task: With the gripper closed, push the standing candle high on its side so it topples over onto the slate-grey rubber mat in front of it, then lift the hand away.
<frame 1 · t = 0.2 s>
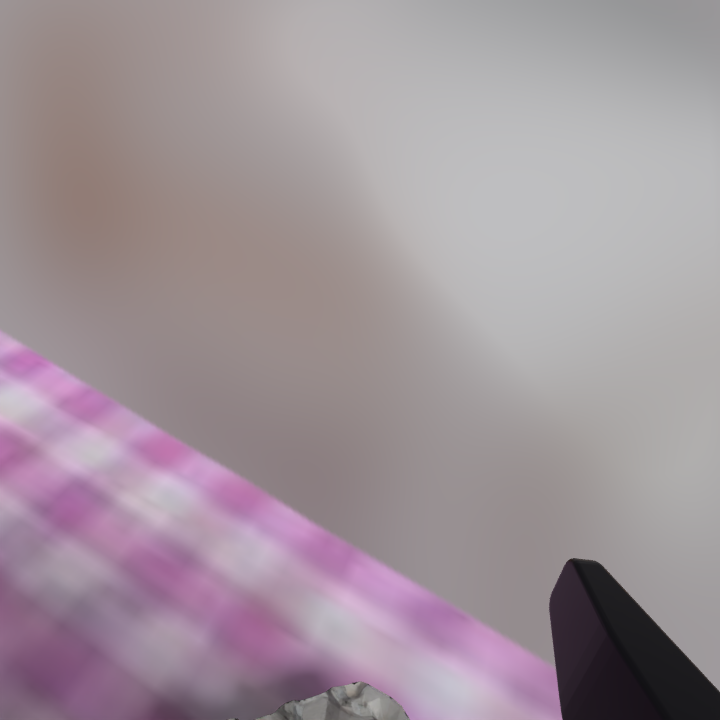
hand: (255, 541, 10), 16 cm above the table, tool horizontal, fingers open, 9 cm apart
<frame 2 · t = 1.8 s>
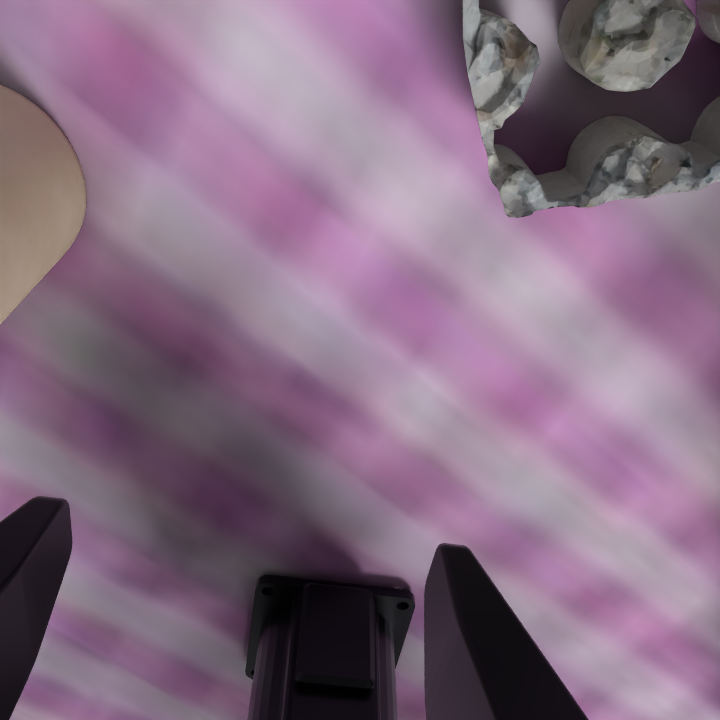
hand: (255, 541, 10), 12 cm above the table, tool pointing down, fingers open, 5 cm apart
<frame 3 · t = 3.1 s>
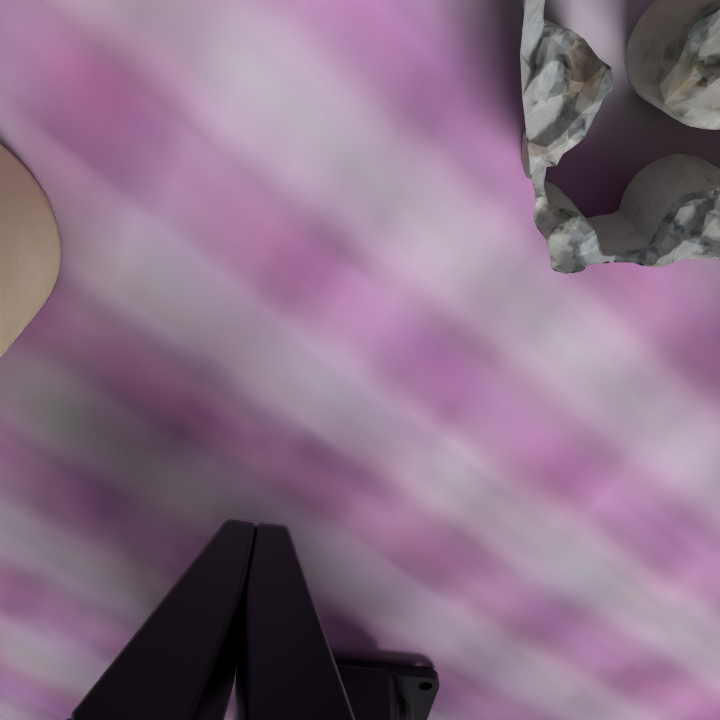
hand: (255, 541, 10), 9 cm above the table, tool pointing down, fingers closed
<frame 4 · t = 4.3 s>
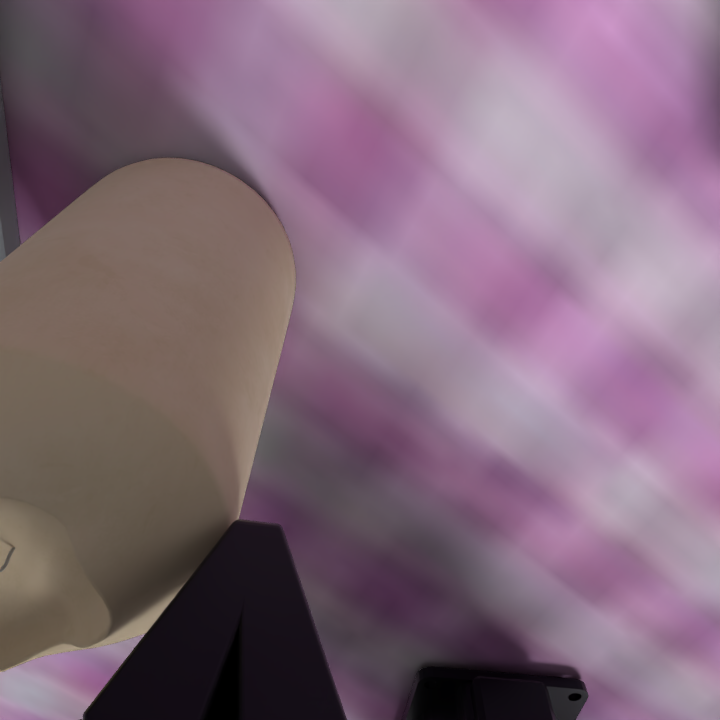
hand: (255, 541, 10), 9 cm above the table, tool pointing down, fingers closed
candle: (188, 263, 17), on the table, touching gripper
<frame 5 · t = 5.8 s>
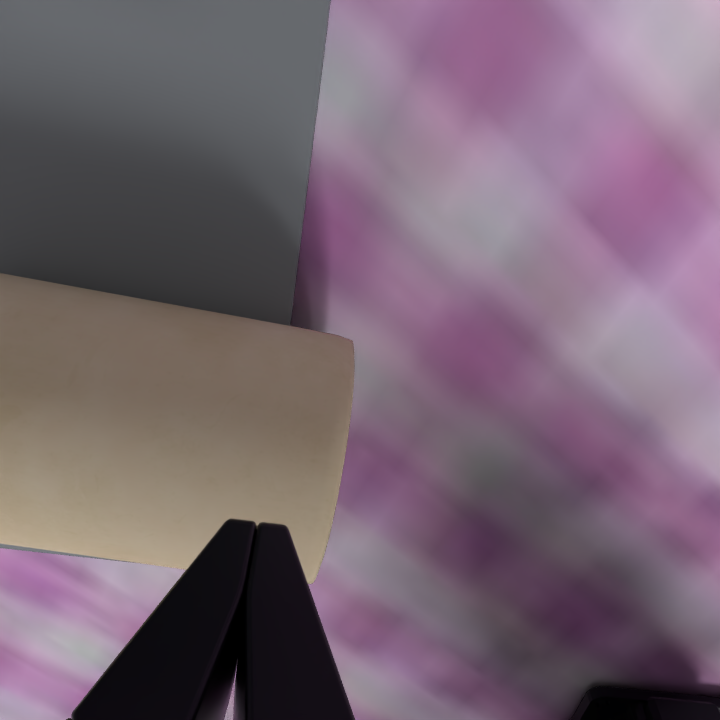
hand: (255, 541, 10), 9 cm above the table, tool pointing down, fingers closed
rubber mat: (2, 235, 16), on the table
candle: (341, 460, 15), point 4 cm above the table, touching rubber mat
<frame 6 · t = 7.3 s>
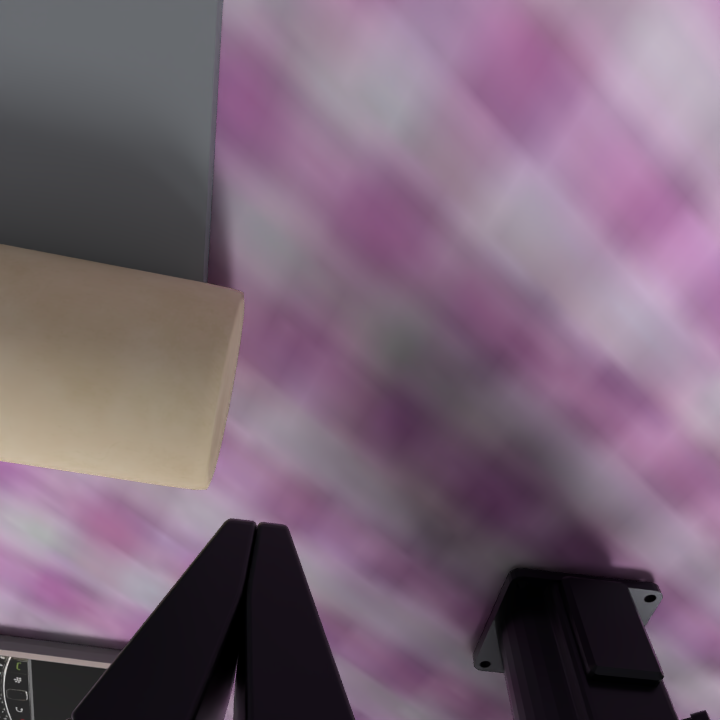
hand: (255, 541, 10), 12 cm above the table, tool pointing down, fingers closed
cell phone: (60, 665, 32), on the table
candle: (235, 391, 18), point 4 cm above the table, touching rubber mat
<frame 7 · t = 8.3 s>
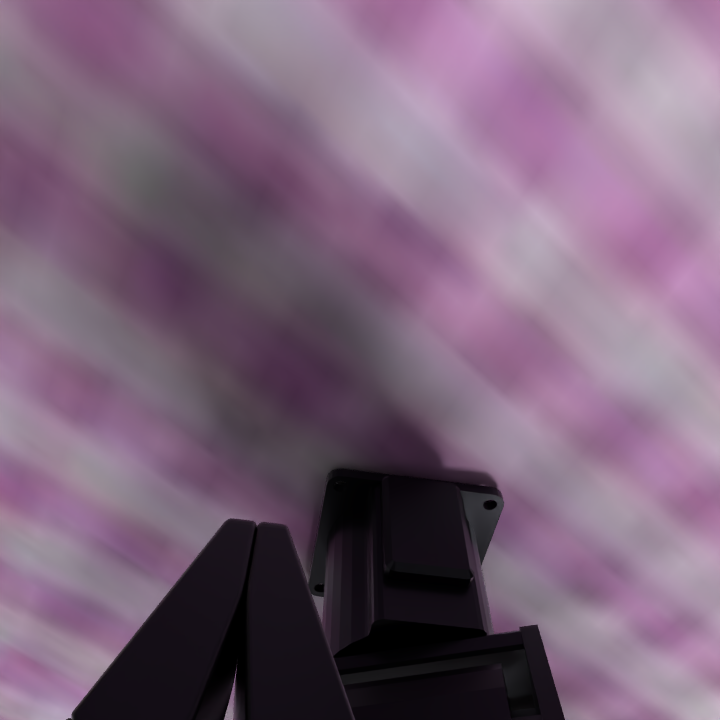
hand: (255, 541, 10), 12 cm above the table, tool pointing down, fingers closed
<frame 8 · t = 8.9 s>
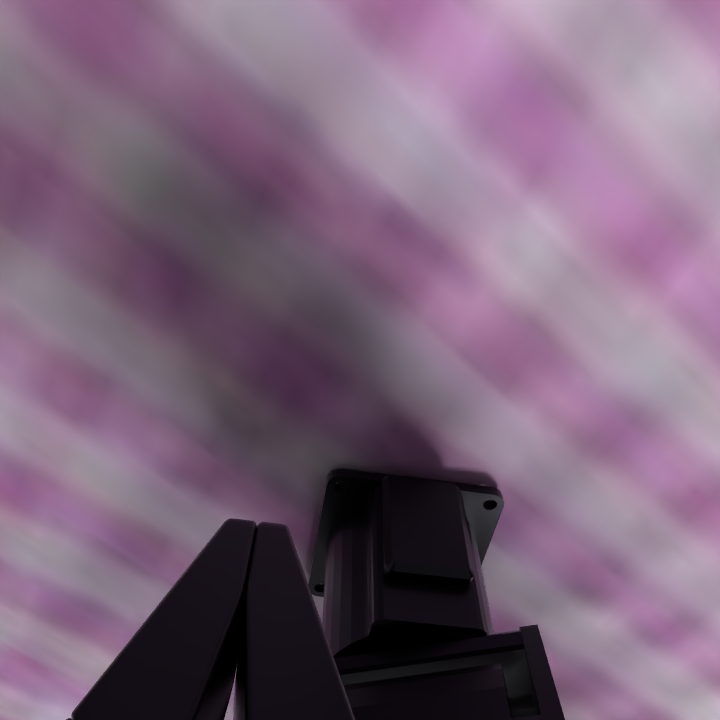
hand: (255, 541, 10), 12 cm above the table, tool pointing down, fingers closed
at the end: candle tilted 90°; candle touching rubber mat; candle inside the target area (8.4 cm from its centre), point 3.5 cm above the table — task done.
